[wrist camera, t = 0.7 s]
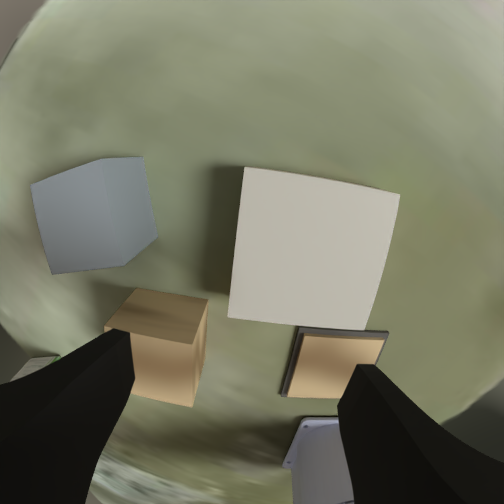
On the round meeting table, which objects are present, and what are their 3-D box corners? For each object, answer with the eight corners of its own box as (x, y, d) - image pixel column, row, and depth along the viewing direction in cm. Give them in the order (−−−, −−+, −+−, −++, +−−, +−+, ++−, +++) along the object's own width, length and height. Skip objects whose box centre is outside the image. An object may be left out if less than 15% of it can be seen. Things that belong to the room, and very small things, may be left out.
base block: (351, 306, 18) (364, 330, 16) (232, 293, 18) (227, 317, 16) (379, 188, 16) (400, 194, 13) (247, 165, 16) (244, 166, 13)
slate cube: (158, 236, 17) (123, 265, 12) (94, 247, 17) (51, 274, 13) (143, 156, 16) (101, 158, 11) (79, 175, 16) (30, 185, 11)
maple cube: (205, 357, 20) (192, 407, 15) (141, 345, 20) (116, 389, 15) (208, 298, 18) (192, 344, 14) (137, 287, 18) (103, 325, 14)
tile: (359, 395, 21) (360, 400, 20) (280, 394, 21) (281, 399, 20) (387, 331, 19) (391, 335, 18) (299, 325, 19) (300, 330, 18)
